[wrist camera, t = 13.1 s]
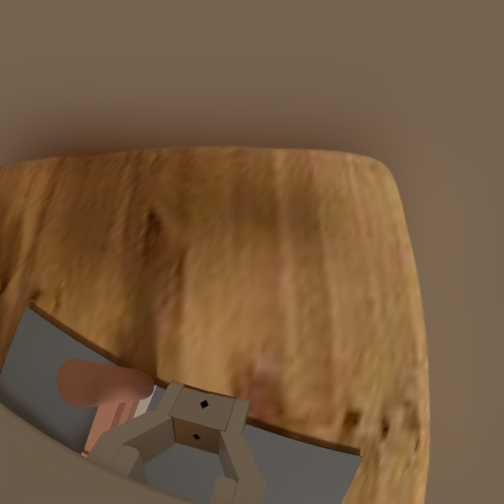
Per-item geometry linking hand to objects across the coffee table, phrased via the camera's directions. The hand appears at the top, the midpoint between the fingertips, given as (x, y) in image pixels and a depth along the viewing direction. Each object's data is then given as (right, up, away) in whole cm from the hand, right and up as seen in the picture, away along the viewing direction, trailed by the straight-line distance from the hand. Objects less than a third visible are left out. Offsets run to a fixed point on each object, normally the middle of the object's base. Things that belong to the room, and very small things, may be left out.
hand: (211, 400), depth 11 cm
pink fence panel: (-9, -9, +9) cm, 15 cm away
